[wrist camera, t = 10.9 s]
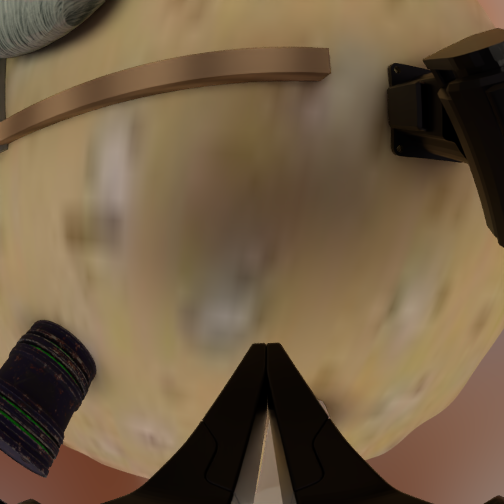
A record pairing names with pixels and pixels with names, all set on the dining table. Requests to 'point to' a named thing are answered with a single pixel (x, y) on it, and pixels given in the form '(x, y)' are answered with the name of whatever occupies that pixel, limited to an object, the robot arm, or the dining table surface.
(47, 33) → the spool
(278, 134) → the dining table surface
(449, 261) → the dining table surface
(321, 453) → the robot arm
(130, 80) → the guide rails
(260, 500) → the foam cup
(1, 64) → the end stop
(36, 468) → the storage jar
